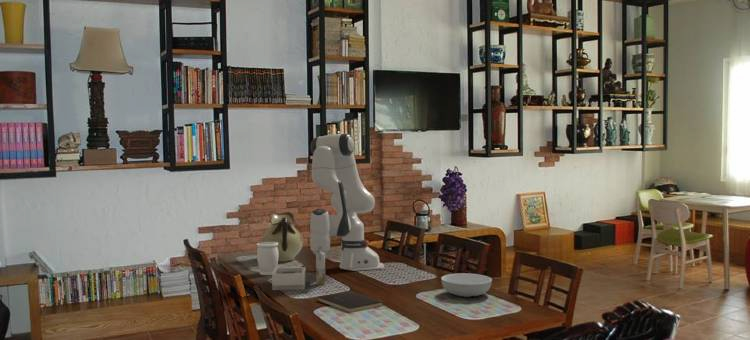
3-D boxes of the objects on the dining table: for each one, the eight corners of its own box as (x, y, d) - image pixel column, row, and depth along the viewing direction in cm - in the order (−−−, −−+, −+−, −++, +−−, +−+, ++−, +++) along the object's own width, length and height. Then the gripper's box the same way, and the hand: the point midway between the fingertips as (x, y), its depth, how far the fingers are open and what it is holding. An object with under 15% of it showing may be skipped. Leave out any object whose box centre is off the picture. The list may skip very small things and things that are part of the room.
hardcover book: (349, 314, 247) (349, 308, 247) (317, 302, 266) (317, 296, 266) (383, 307, 257) (383, 301, 257) (350, 295, 275) (350, 290, 275)
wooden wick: (325, 283, 296) (325, 261, 296) (325, 284, 294) (325, 262, 294) (316, 283, 296) (316, 261, 296) (316, 284, 294) (316, 262, 294)
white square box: (305, 282, 300) (305, 267, 299) (304, 289, 286) (304, 273, 285) (274, 283, 299) (274, 267, 298) (272, 290, 285) (271, 274, 285)
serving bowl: (460, 303, 259) (460, 286, 259) (431, 292, 278) (431, 276, 277) (502, 296, 269) (502, 280, 268) (472, 286, 287) (471, 271, 287)
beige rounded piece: (282, 254, 372) (281, 210, 370) (313, 258, 358) (312, 213, 356) (253, 261, 354) (252, 215, 352) (285, 265, 340) (284, 218, 338)
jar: (274, 276, 313) (273, 245, 312) (254, 275, 315) (253, 244, 314) (281, 271, 324) (281, 241, 323) (262, 271, 326) (261, 241, 325)
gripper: (327, 249, 284) (327, 281, 285) (327, 242, 305) (327, 271, 305) (312, 250, 284) (313, 281, 285) (313, 242, 304) (314, 271, 305)
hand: (320, 276), depth 295 cm, fingers open, 2 cm apart
